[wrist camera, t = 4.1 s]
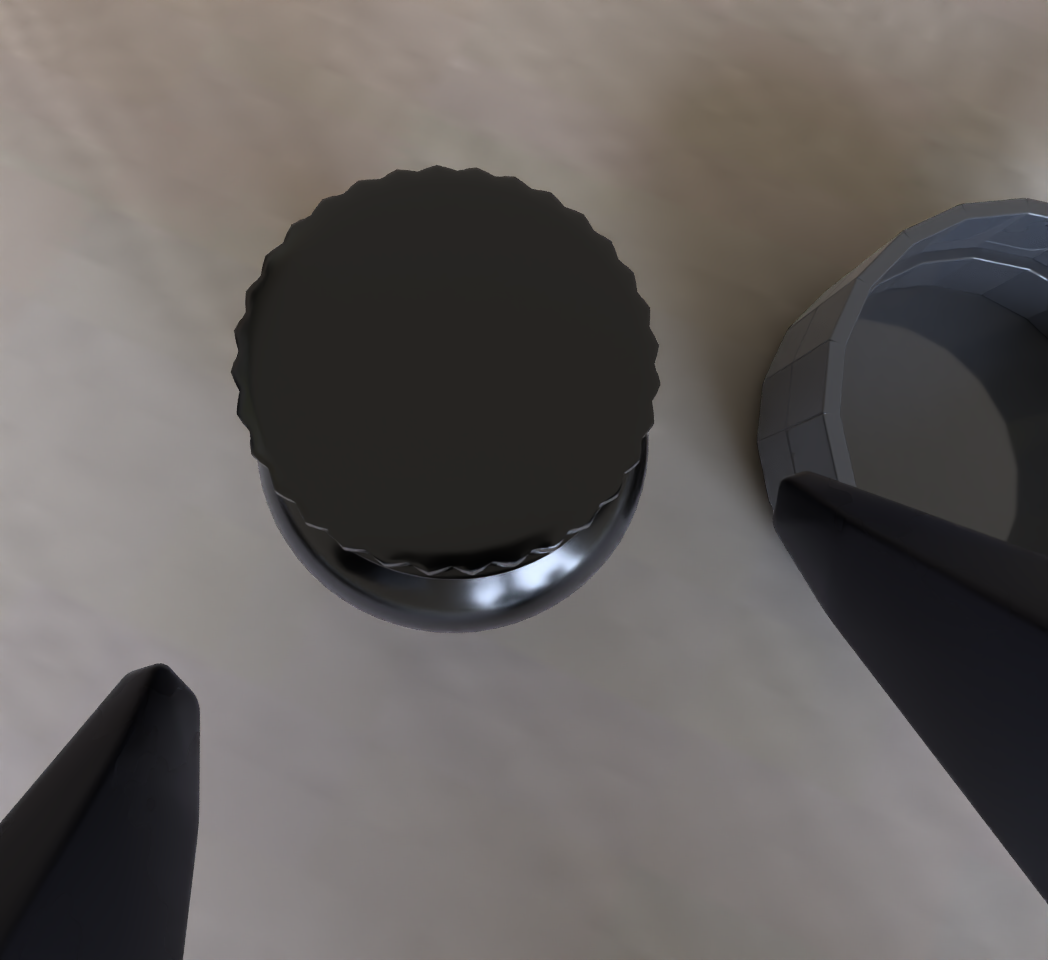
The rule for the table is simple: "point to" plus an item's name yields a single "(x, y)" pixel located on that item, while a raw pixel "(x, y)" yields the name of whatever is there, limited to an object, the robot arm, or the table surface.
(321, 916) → the table surface
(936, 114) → the table surface
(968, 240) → the pan
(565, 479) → the supplement bottle
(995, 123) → the table surface
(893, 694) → the robot arm
